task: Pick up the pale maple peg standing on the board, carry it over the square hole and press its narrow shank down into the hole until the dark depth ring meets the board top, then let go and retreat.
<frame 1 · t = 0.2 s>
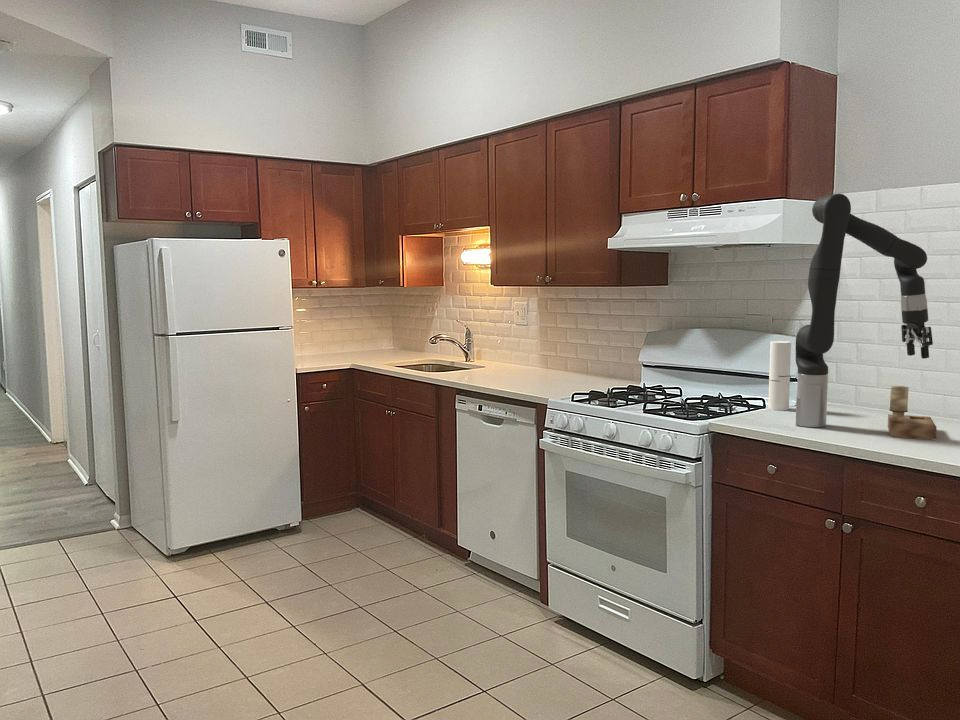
hand: (918, 356, 260), 22 cm above the countertop, tool pointing down, fingers open, 8 cm apart
cylindrical container: (778, 409, 293), on the countertop
peg: (897, 422, 243), point 4 cm above the countertop, touching board
board: (910, 432, 247), on the countertop
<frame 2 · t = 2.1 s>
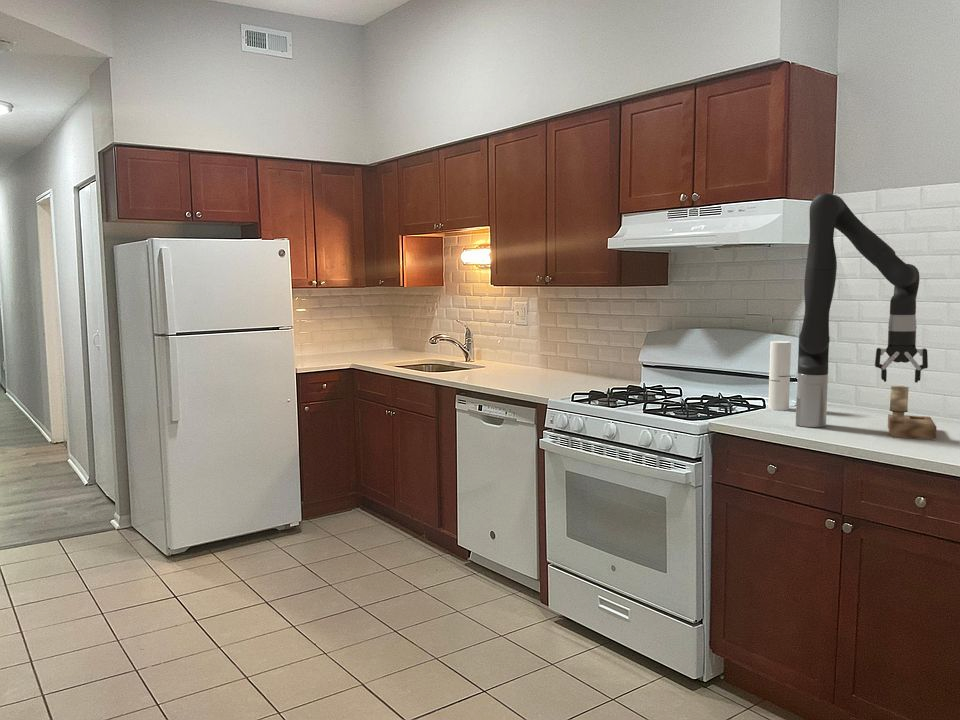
hand: (900, 381, 242), 17 cm above the countertop, tool pointing down, fingers open, 8 cm apart
nothing on the countertop moved.
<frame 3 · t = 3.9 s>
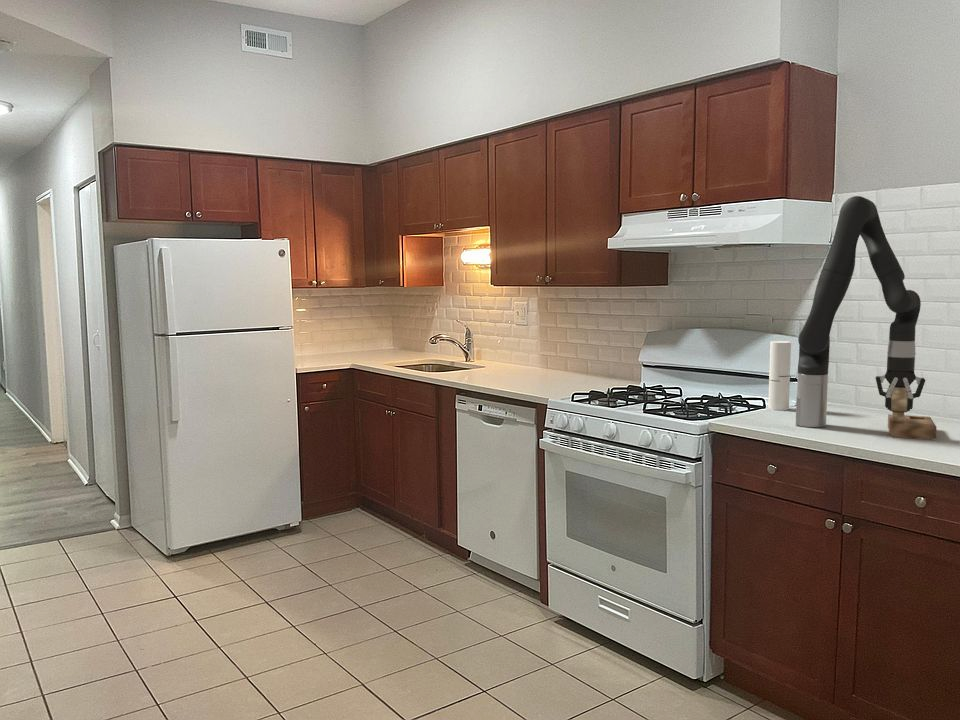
hand: (898, 409, 243), 8 cm above the countertop, tool pointing down, fingers closed on peg, 4 cm apart
peg: (897, 422, 243), point 4 cm above the countertop, touching board, gripper
everything else where it was.
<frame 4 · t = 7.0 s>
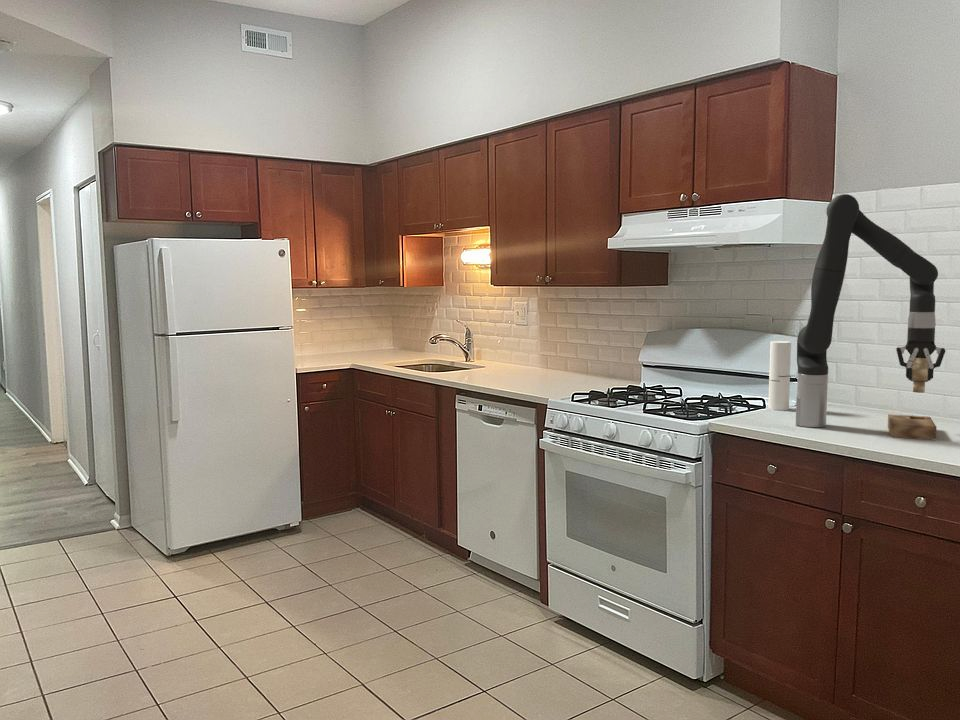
hand: (919, 379, 249), 16 cm above the countertop, tool pointing down, fingers closed on peg, 4 cm apart
peg: (918, 391, 249), point 12 cm above the countertop, touching gripper
everything else where it was.
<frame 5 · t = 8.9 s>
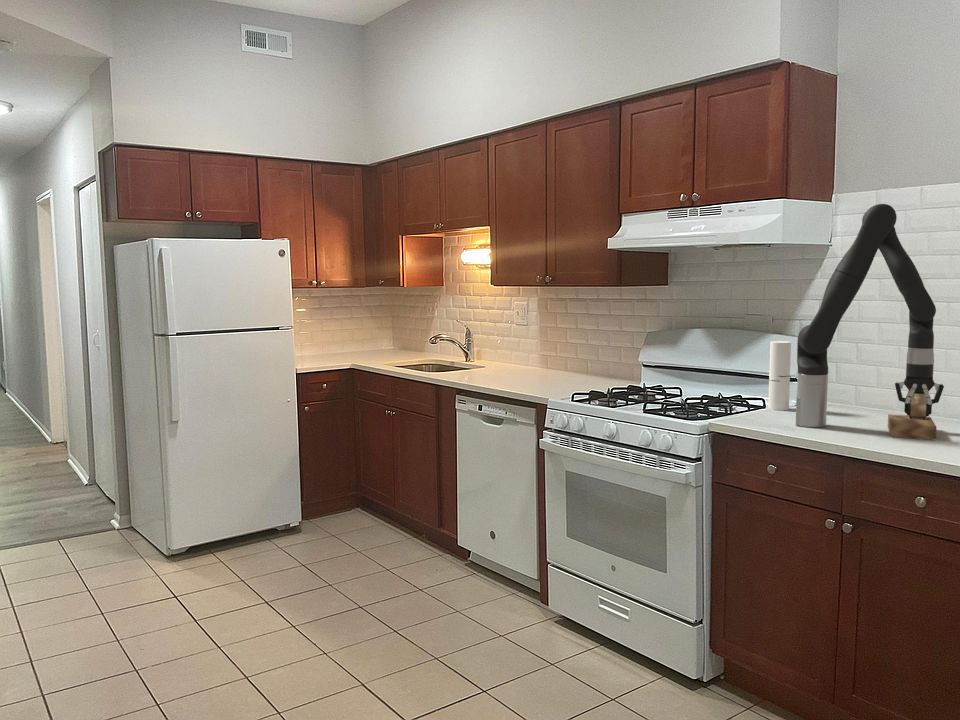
hand: (917, 415, 250), 5 cm above the countertop, tool pointing down, fingers closed on peg, 4 cm apart
peg: (917, 427, 250), point 1 cm above the countertop, touching gripper
everything else where it was.
when the fingers open (5 cm above the countertop, at t = 10.1 s): peg stays where it is, resting on board.
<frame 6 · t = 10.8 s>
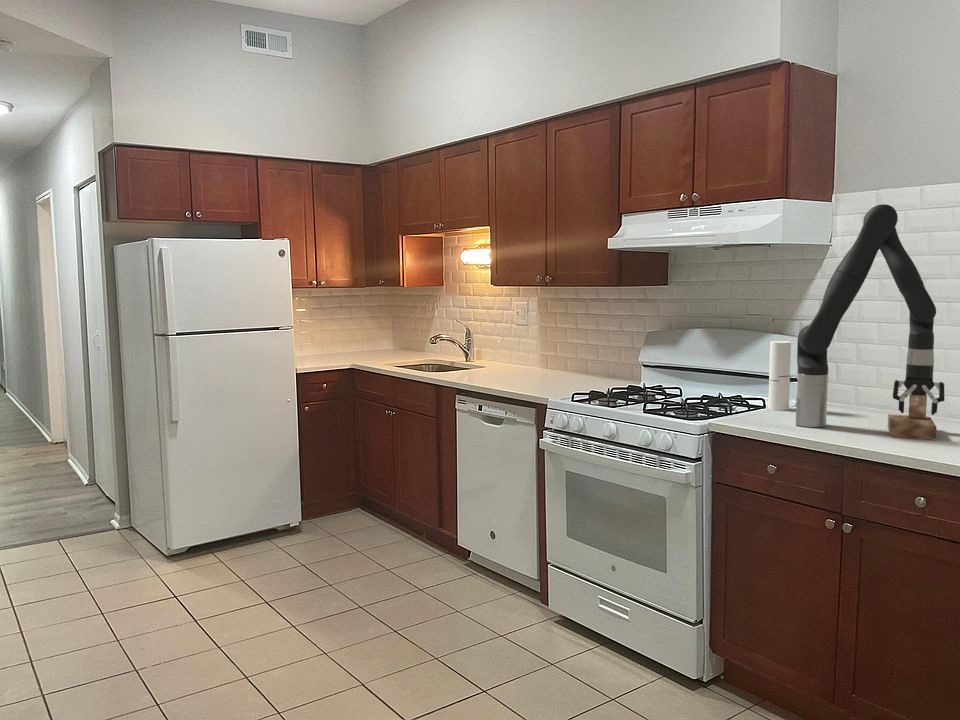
hand: (917, 413, 250), 5 cm above the countertop, tool pointing down, fingers open, 8 cm apart
peg: (916, 428, 250), resting on board
everything else where it was.
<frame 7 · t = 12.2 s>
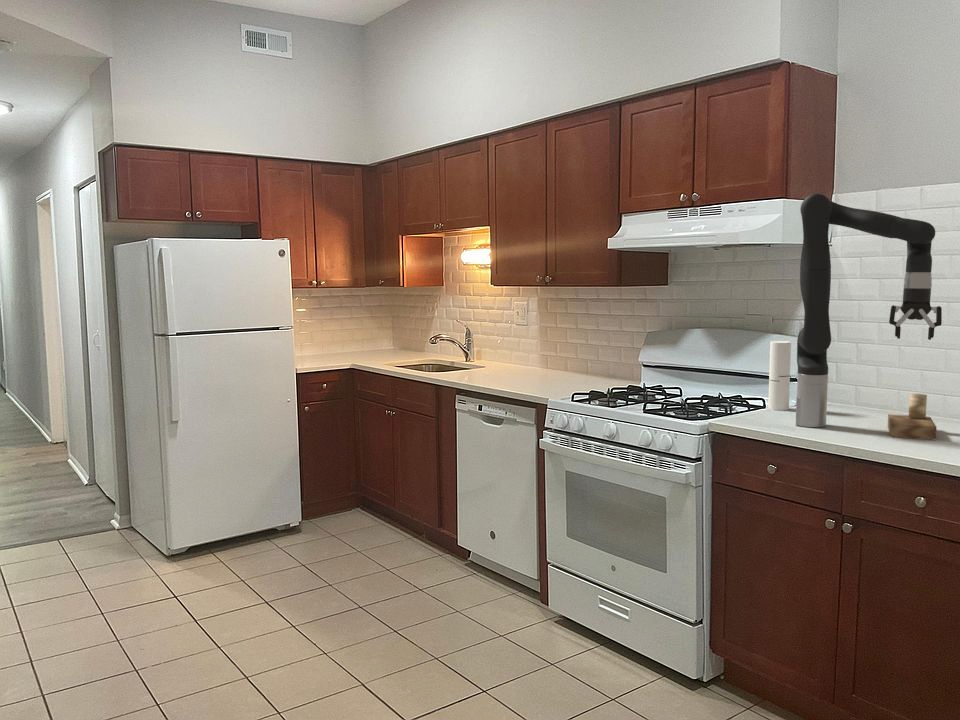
hand: (913, 339, 246), 29 cm above the countertop, tool pointing down, fingers open, 8 cm apart
nothing on the countertop moved.
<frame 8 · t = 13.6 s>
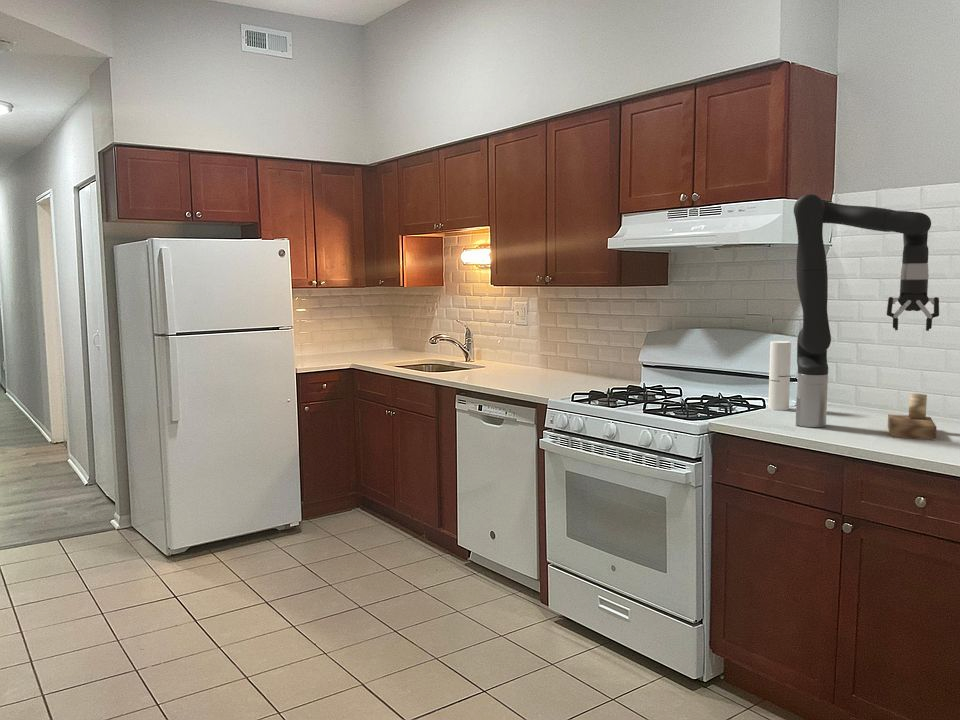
hand: (911, 330, 246), 32 cm above the countertop, tool pointing down, fingers open, 8 cm apart
nothing on the countertop moved.
at the end: peg 0.0 cm from the target spot on the board, point 0.5 cm above the board's base; peg tilted 0°; the gripper is holding nothing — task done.
